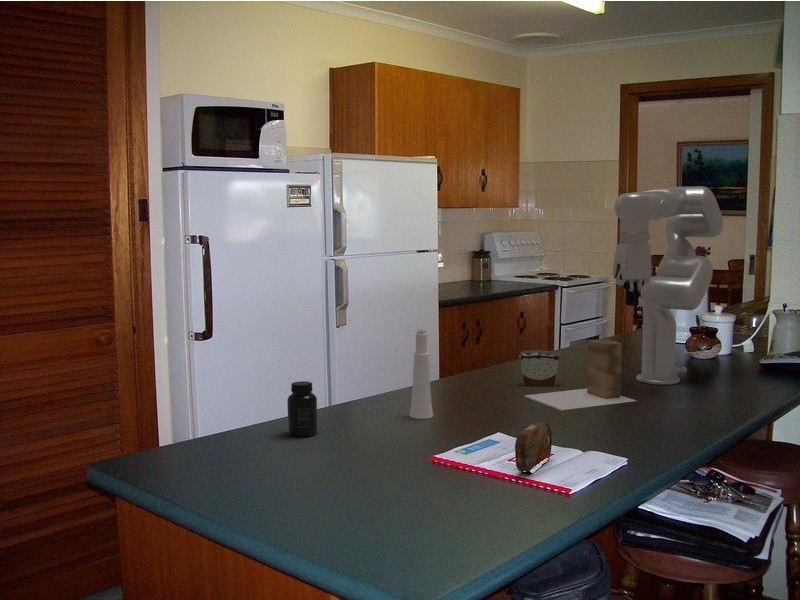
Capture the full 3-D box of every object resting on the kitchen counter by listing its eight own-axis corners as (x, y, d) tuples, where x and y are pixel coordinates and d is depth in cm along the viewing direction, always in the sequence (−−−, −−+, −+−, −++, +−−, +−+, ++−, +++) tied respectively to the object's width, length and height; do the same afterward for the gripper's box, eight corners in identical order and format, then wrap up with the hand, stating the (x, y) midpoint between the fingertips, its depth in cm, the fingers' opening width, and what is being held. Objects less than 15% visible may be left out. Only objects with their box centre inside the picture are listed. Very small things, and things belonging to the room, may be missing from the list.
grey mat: (595, 388, 236) (595, 387, 236) (636, 402, 219) (637, 400, 219) (524, 396, 226) (524, 395, 226) (562, 411, 210) (562, 409, 210)
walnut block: (602, 391, 231) (603, 339, 229) (620, 397, 223) (622, 343, 222) (587, 393, 229) (588, 340, 227) (605, 399, 221) (606, 344, 220)
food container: (558, 383, 243) (559, 350, 242) (560, 388, 237) (561, 354, 236) (517, 382, 245) (517, 349, 243) (518, 387, 238) (518, 353, 237)
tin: (527, 479, 158) (527, 436, 157) (511, 476, 159) (512, 434, 158) (553, 458, 171) (553, 419, 170) (538, 456, 172) (539, 417, 171)
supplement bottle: (322, 431, 192) (321, 381, 191) (310, 438, 185) (309, 387, 184) (296, 428, 194) (295, 379, 193) (282, 436, 188) (281, 385, 186)
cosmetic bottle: (404, 416, 205) (404, 329, 203) (420, 411, 210) (420, 327, 207) (422, 420, 201) (422, 332, 199) (438, 415, 206) (438, 329, 203)
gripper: (646, 238, 231) (644, 302, 233) (603, 239, 225) (601, 305, 227) (664, 239, 224) (662, 305, 226) (620, 240, 218) (619, 308, 220)
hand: (632, 305), depth 227 cm, fingers closed
